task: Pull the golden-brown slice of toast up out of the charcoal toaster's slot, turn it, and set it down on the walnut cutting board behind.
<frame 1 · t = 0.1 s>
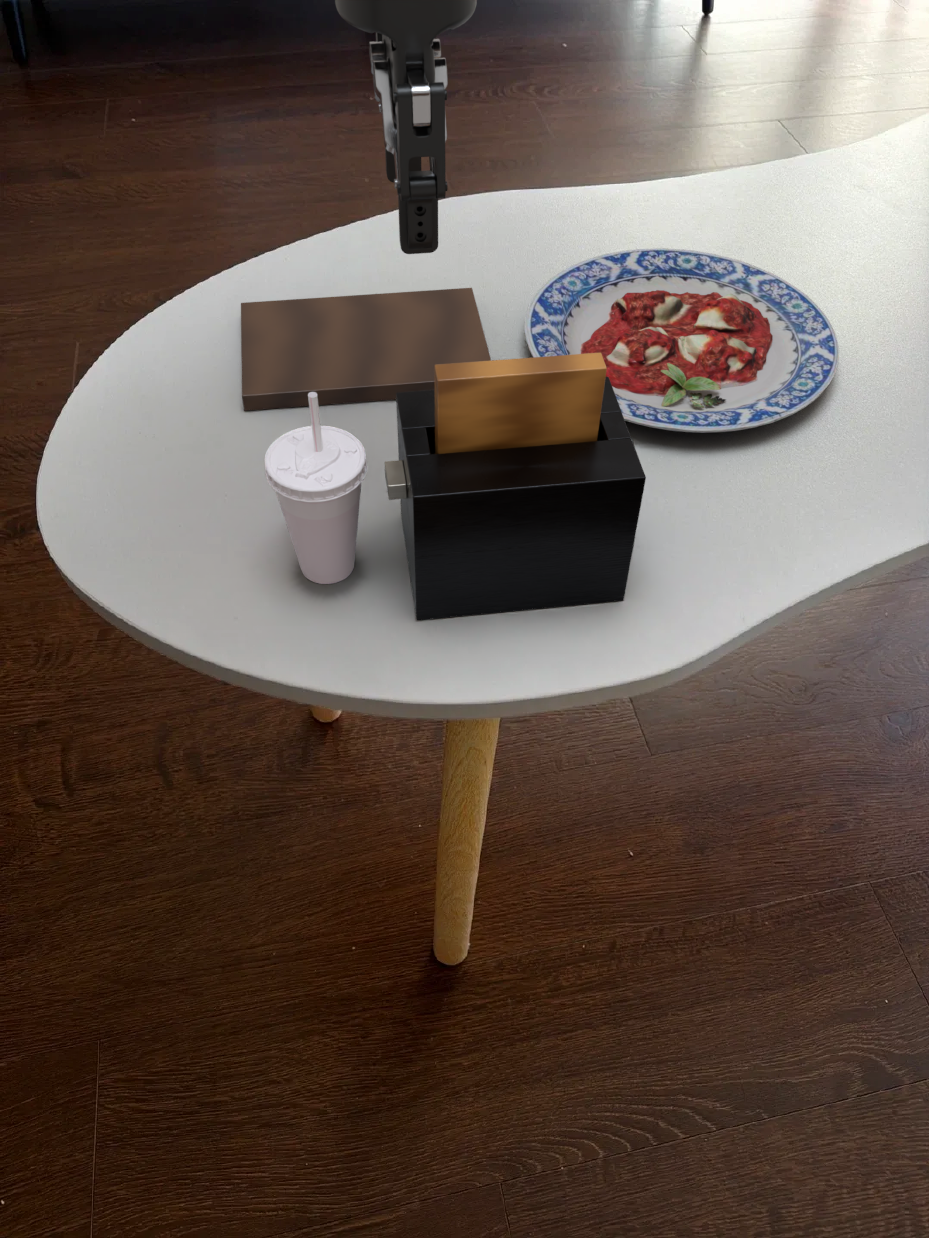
hand: (411, 213, 67), 20 cm above the table, tool pointing down, fingers open, 8 cm apart
toast: (512, 493, 72), point 6 cm above the table, touching toaster
ceramic plate: (675, 354, 92), on the table
toaster: (508, 557, 76), on the table
cutting board: (364, 353, 92), on the table
smoothie: (327, 566, 76), on the table
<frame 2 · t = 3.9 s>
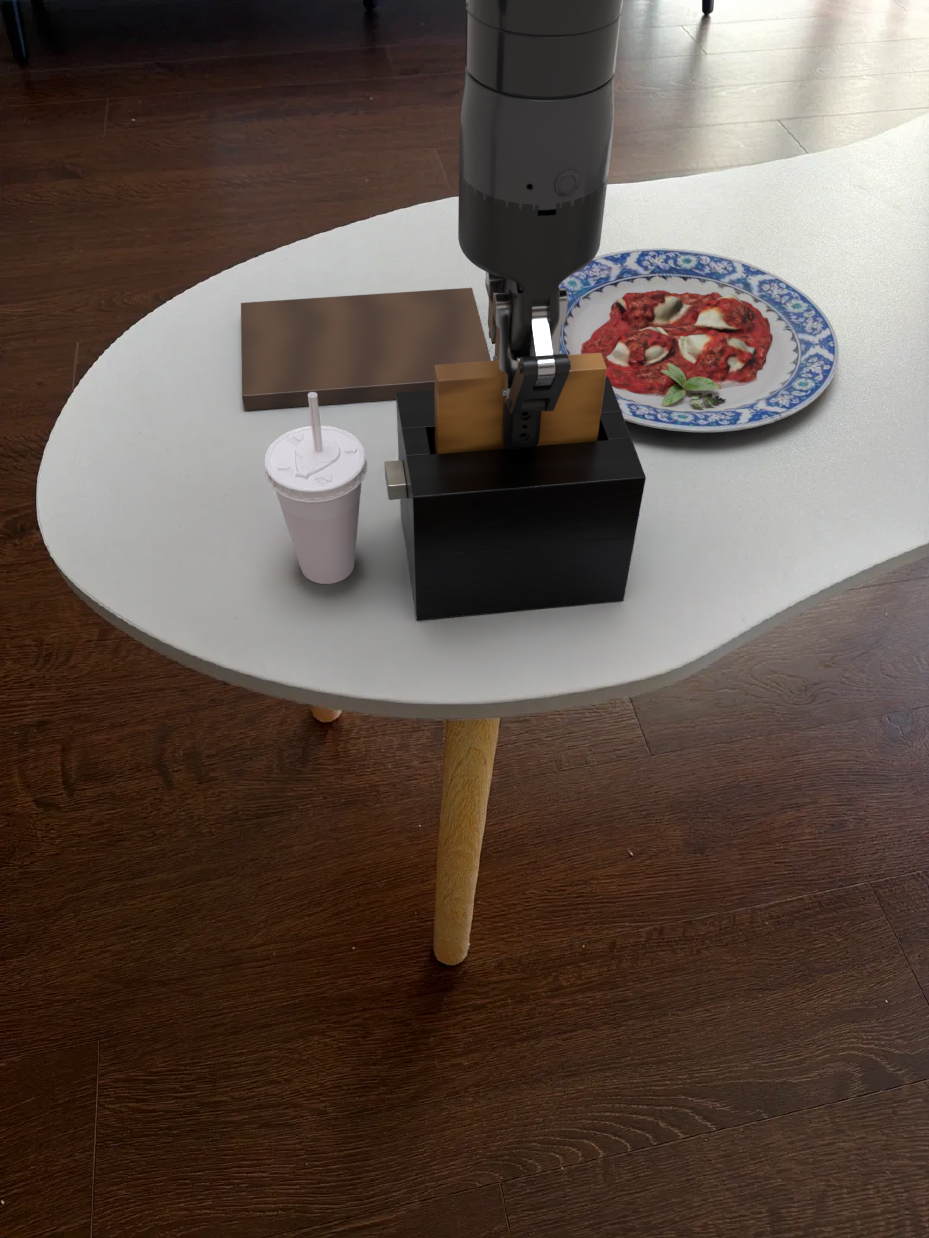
hand: (516, 432, 68), 11 cm above the table, tool pointing down, fingers closed on toast
toast: (512, 493, 72), point 6 cm above the table, touching gripper, toaster
everything else where it was.
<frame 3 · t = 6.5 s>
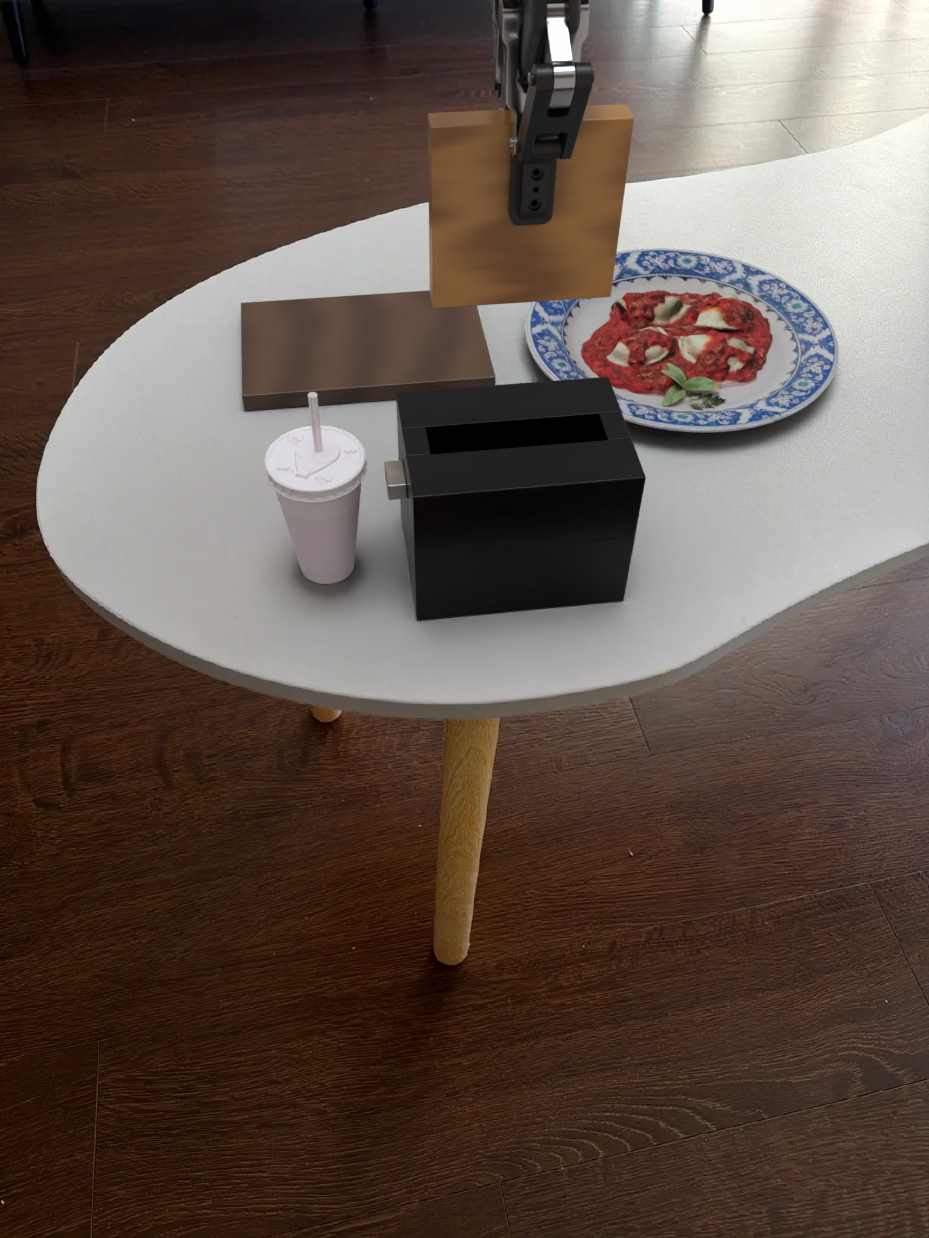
hand: (526, 209, 57), 25 cm above the table, tool pointing down, fingers closed on toast
toast: (520, 295, 61), point 20 cm above the table, touching gripper
everything else where it was.
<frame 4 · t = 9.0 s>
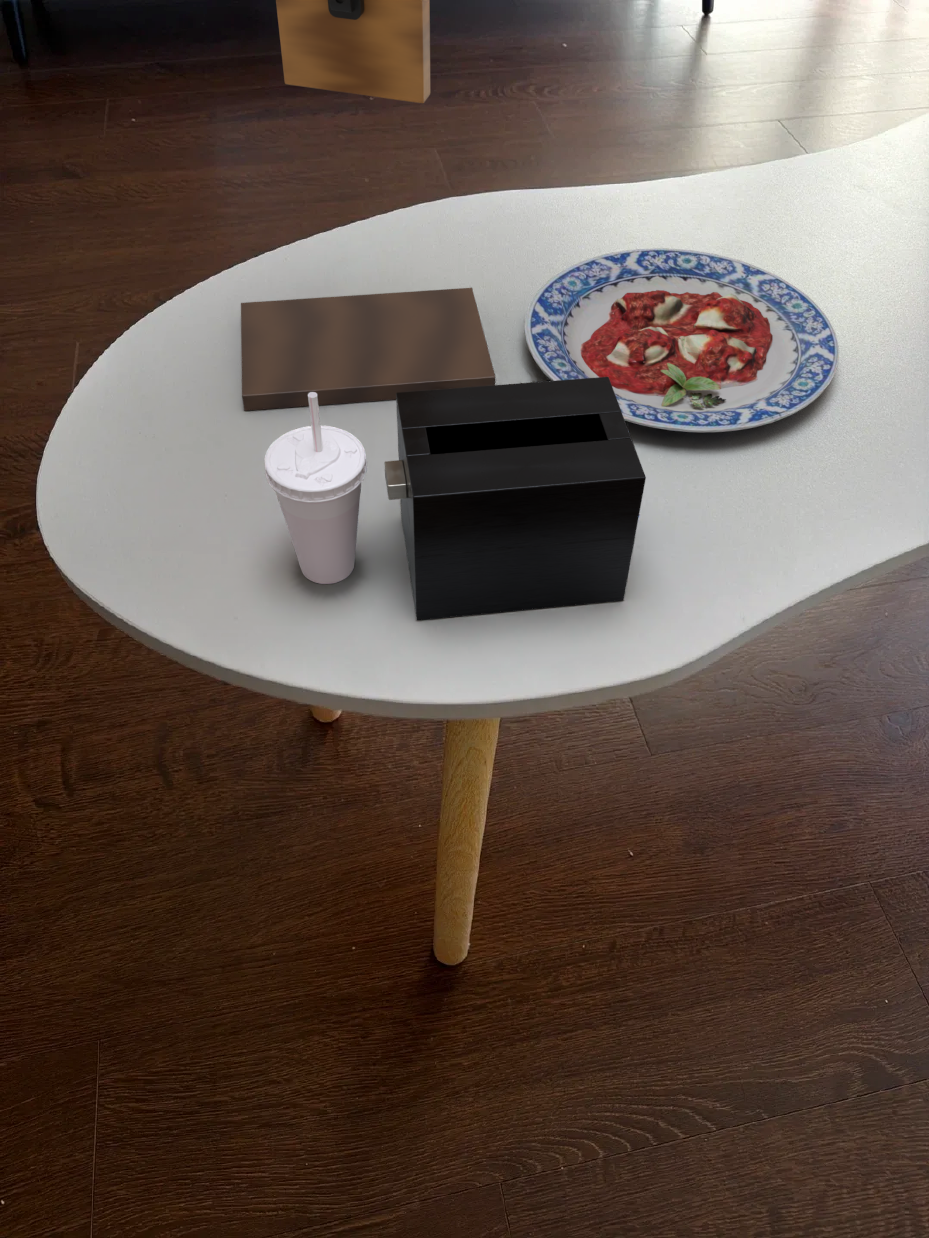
hand: (352, 9, 71), 27 cm above the table, tool pointing down, fingers closed on toast
toast: (357, 89, 75), point 22 cm above the table, touching gripper
everything else where it was.
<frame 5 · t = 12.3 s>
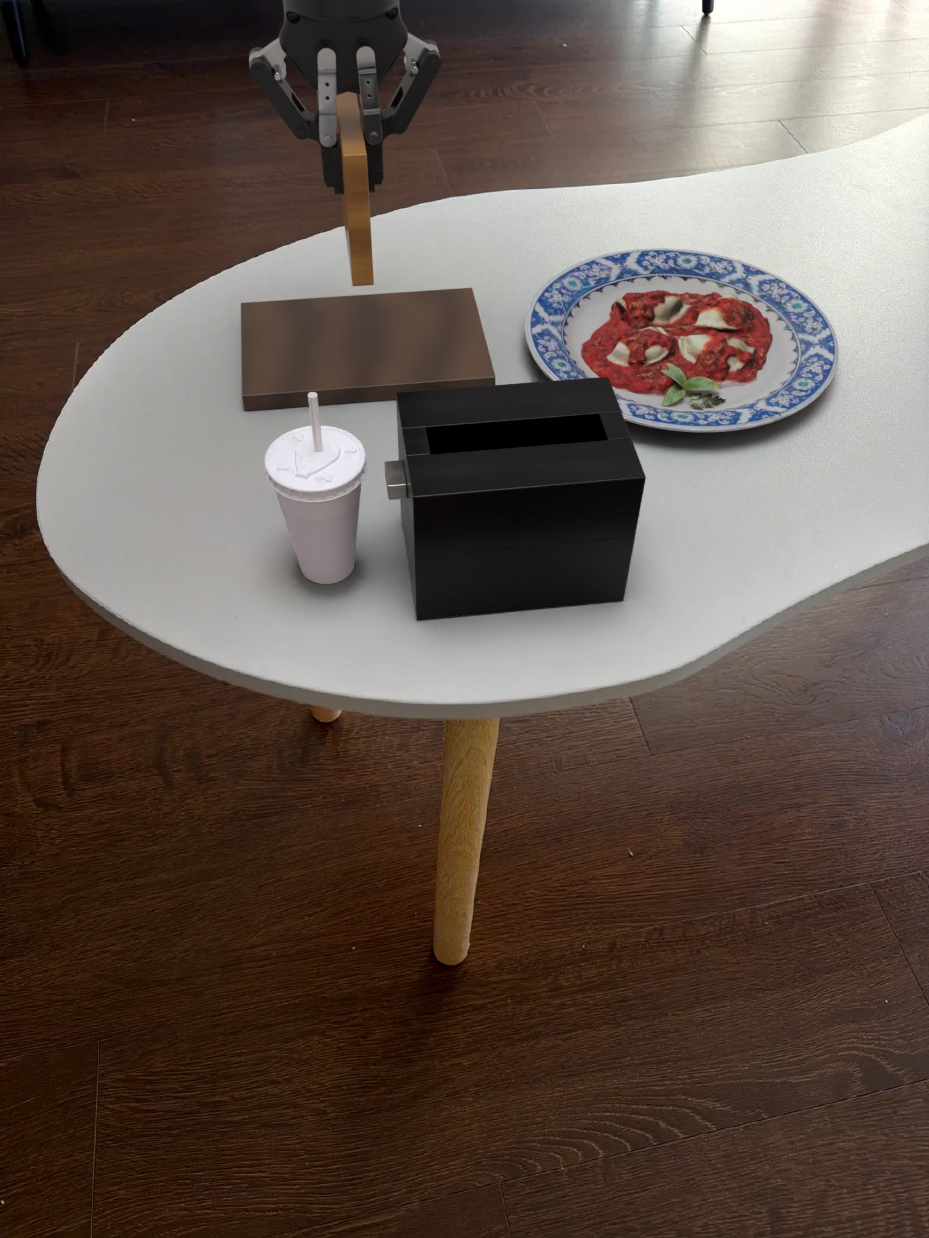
hand: (353, 188, 81), 15 cm above the table, tool pointing down, fingers closed on toast
toast: (358, 250, 85), point 9 cm above the table, touching gripper
everything else where it was.
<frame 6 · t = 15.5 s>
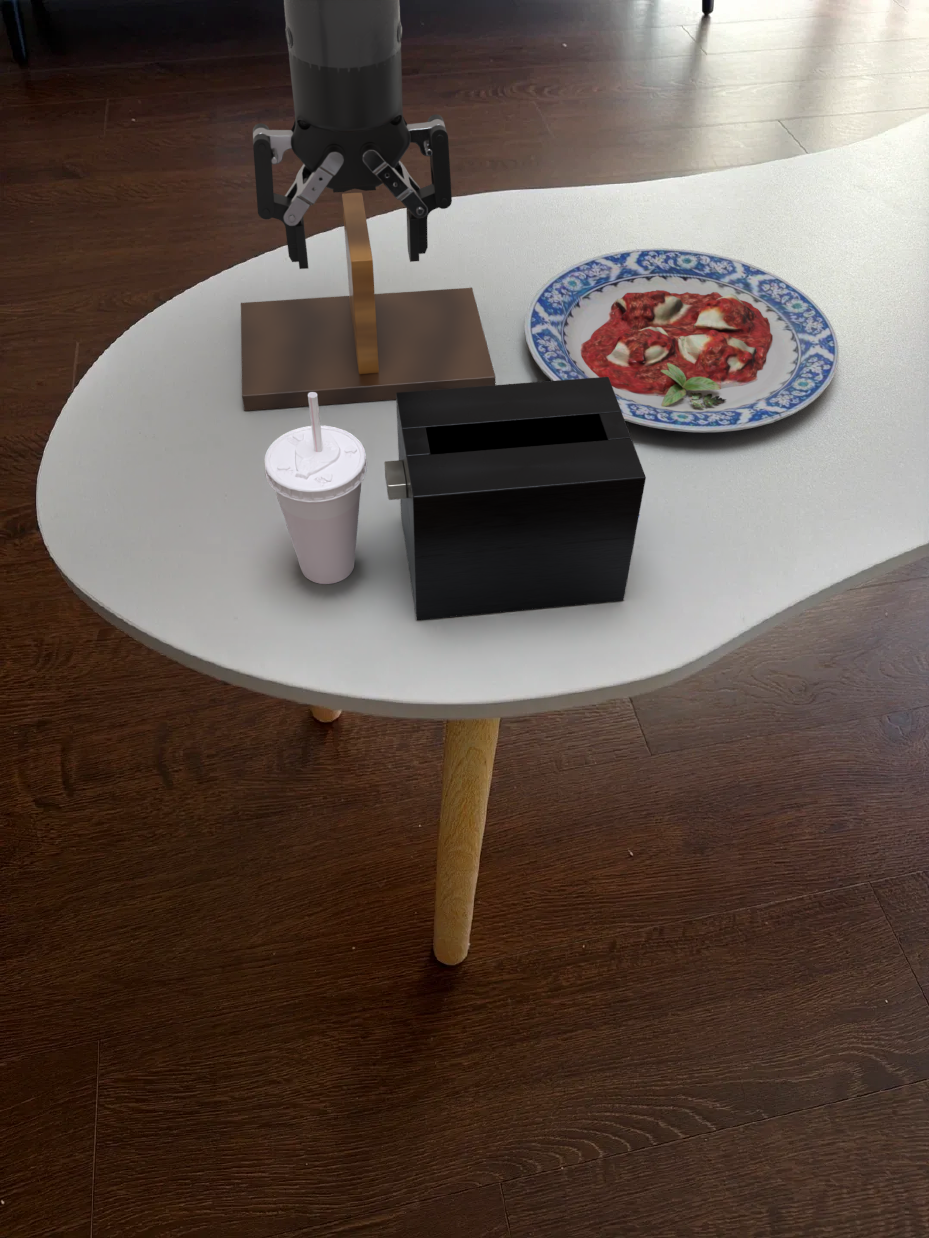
hand: (358, 260, 85), 9 cm above the table, tool pointing down, fingers open, 8 cm apart
toast: (363, 337, 90), point 1 cm above the table, touching cutting board
everything else where it was.
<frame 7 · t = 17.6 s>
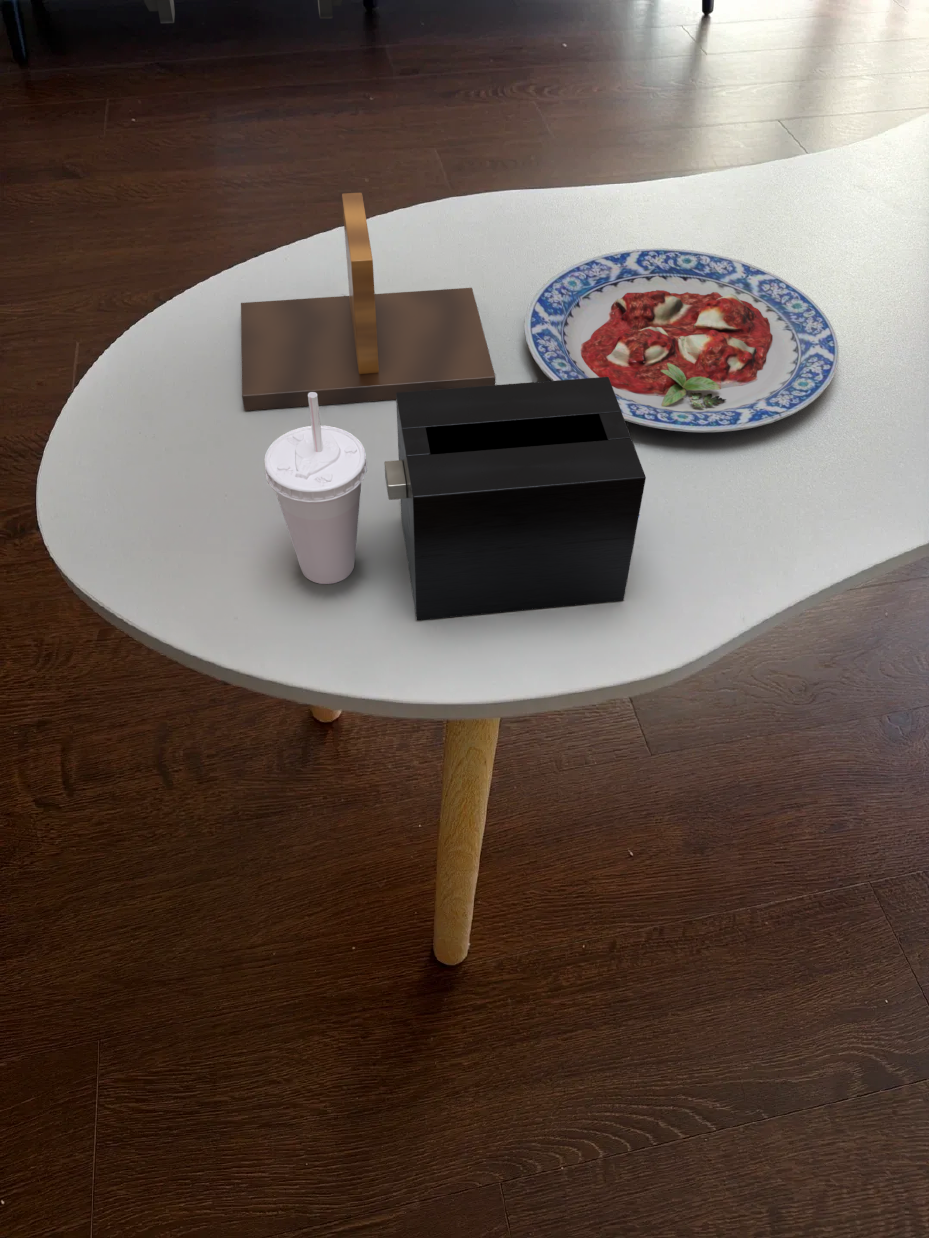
hand: (246, 16, 60), 31 cm above the table, tool pointing down, fingers open, 8 cm apart
nothing on the table moved.
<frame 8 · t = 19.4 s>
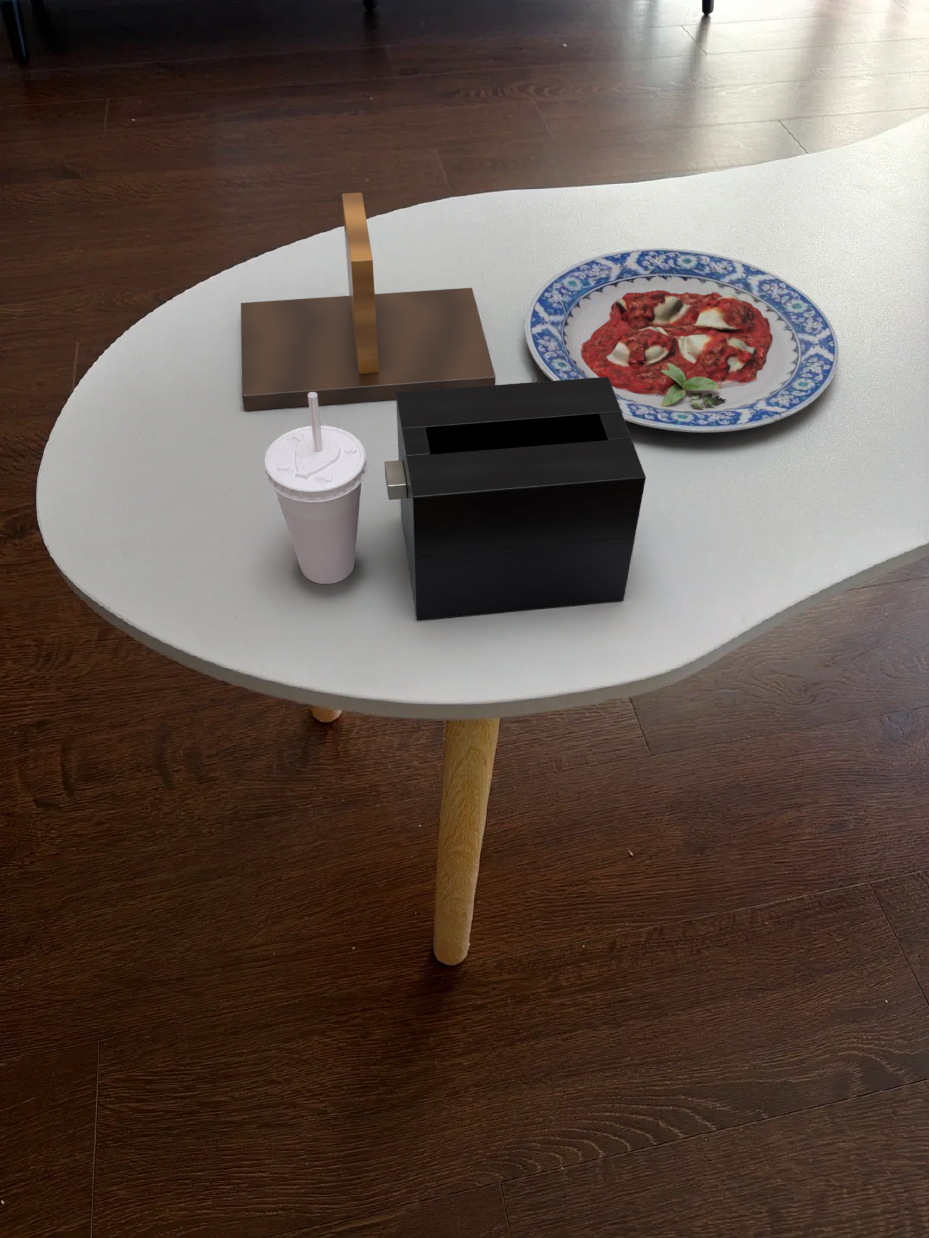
nothing on the table moved.
at the end: toast inside the target area on the cutting board (0.1 cm from its centre), point 1.5 cm above the cutting board's base; the gripper is holding nothing; toast moved 26.7 cm from its start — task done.
